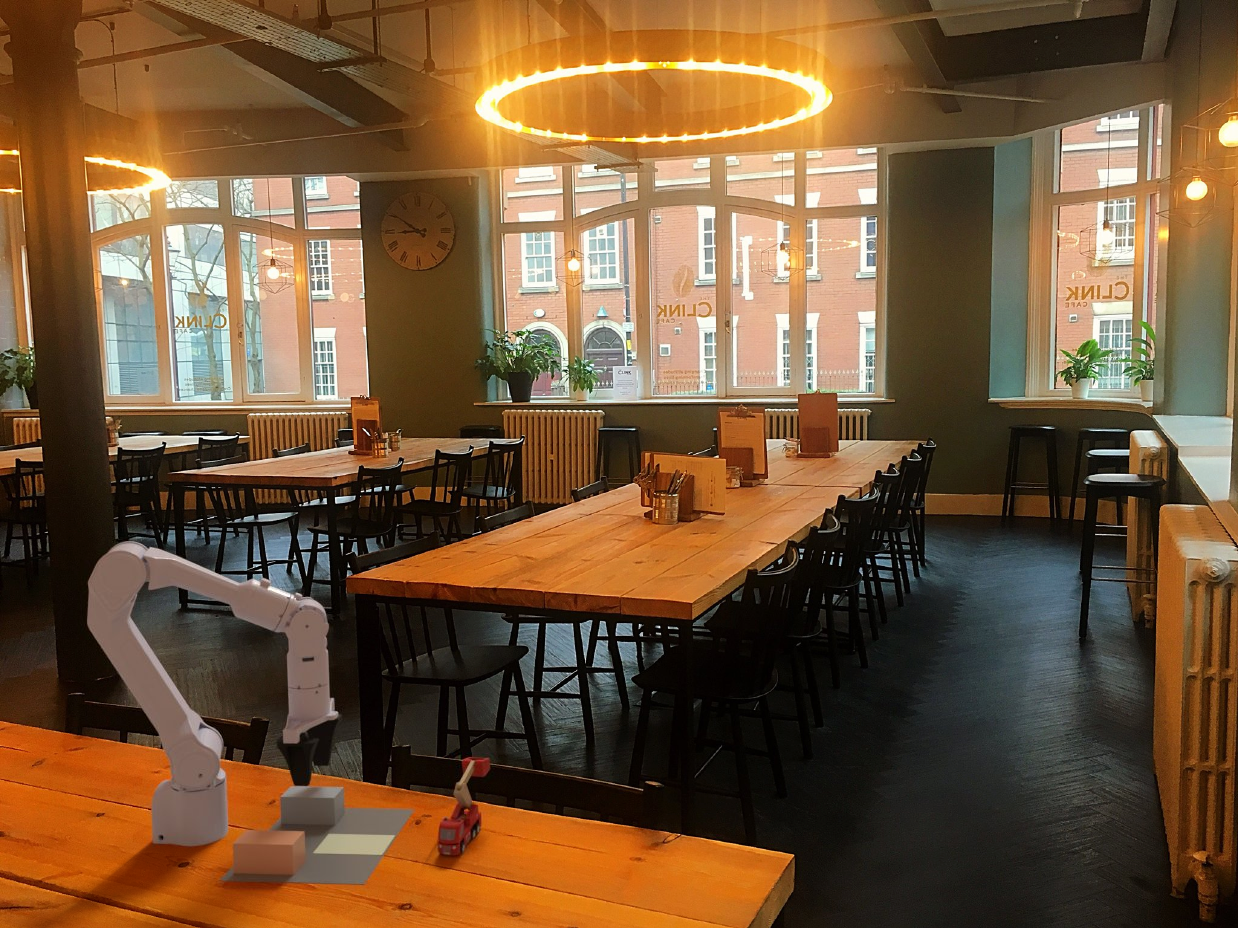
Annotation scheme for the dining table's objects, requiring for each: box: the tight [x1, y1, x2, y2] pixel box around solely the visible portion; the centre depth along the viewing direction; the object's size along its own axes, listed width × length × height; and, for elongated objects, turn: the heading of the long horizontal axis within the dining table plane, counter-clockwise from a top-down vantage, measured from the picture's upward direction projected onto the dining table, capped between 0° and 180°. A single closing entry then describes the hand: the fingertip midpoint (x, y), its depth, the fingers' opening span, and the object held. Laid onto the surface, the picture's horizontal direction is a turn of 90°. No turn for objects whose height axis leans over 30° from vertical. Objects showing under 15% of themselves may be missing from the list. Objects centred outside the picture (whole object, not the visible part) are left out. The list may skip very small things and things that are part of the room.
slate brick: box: [279, 785, 346, 825], centre depth 147 cm, size 8×4×4 cm, turn 86°
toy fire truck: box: [437, 756, 491, 856], centre depth 143 cm, size 3×14×10 cm, turn 168°
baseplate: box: [219, 807, 415, 886], centre depth 139 cm, size 19×23×1 cm
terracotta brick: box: [232, 829, 306, 875], centre depth 132 cm, size 8×4×4 cm, turn 86°
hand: (312, 774), depth 147 cm, fingers open, 7 cm apart
